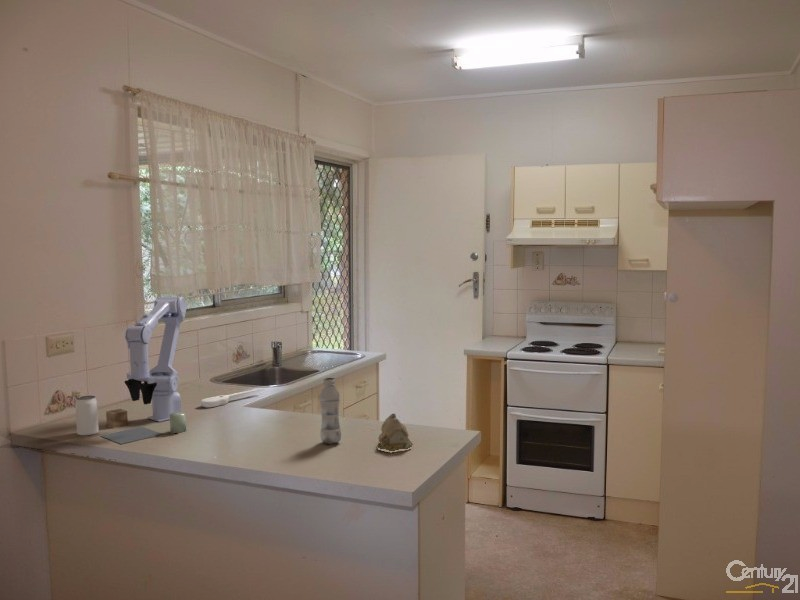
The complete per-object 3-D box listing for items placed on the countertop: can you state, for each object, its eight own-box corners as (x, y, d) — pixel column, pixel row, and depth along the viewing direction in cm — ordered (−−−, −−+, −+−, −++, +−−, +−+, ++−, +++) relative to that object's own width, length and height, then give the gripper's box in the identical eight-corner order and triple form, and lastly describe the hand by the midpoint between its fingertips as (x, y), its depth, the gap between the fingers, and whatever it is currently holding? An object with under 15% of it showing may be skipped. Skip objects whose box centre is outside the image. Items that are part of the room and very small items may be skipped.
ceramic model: (417, 451, 202) (416, 418, 201) (379, 454, 200) (378, 421, 199) (407, 438, 216) (406, 407, 215) (371, 441, 213) (371, 409, 212)
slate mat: (141, 427, 233) (141, 426, 233) (162, 434, 224) (162, 433, 224) (100, 436, 222) (100, 435, 222) (121, 444, 213) (121, 443, 213)
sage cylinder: (181, 428, 230) (180, 411, 230) (189, 431, 227) (188, 413, 226) (167, 432, 226) (166, 414, 226) (175, 434, 223) (174, 416, 223)
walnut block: (120, 422, 239) (120, 408, 239) (127, 425, 236) (127, 411, 236) (106, 425, 236) (106, 411, 235) (113, 428, 232) (112, 413, 232)
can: (90, 436, 222) (88, 400, 221) (72, 435, 224) (70, 399, 223) (102, 431, 229) (100, 395, 228) (85, 430, 230) (83, 395, 229)
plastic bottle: (325, 447, 207) (323, 382, 205) (317, 441, 213) (315, 378, 211) (344, 444, 210) (343, 379, 208) (336, 438, 216) (335, 376, 214)
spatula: (256, 394, 281) (256, 387, 281) (265, 396, 277) (265, 389, 277) (197, 407, 260) (197, 399, 260) (206, 409, 256) (206, 401, 256)
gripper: (117, 361, 229) (119, 401, 230) (139, 366, 220) (141, 407, 221) (137, 358, 235) (139, 397, 236) (159, 362, 225) (161, 403, 226)
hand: (141, 402), depth 229 cm, fingers open, 7 cm apart
